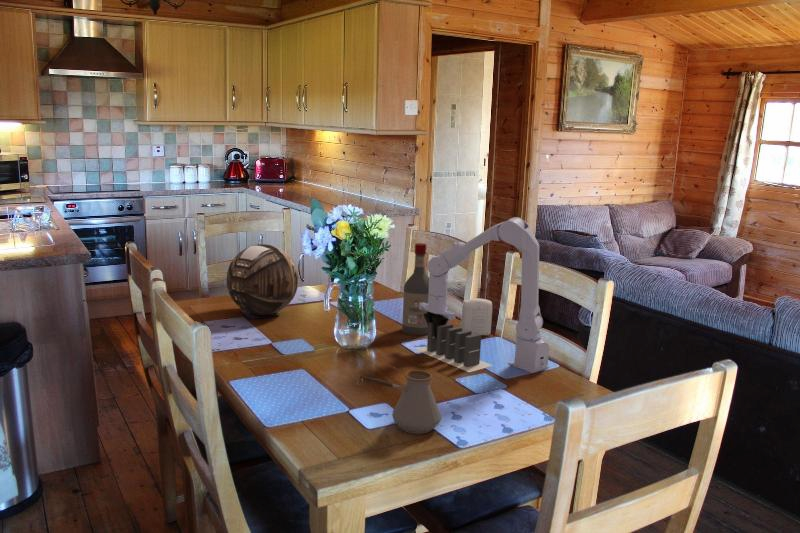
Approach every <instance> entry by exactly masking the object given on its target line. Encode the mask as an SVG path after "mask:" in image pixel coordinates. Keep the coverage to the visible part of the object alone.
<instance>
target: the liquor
mask: <svg viewBox="0 0 800 533" xmlns="http://www.w3.org/2000/svg"><path fill="white" fill-rule="evenodd" d="M414 254H415V257H414V258H415V259H414V270H413V273H412V274H411V275H410V277H409V278H408V279H407V280H406V281H405V282H404V286H403V302H402V304H403V305H402V328H401V330H402V332H403V334H406V335H407V336H408V335H409V336H410V335H415V336H425V335H428V324H427V322H426V319H425V317H424V314H426V313H427V311H426V310H420V309H419V303H423V302H424V303H428V294H429V277H430V276H429V275H428V274H427V273H426V269H425V265H426V264H425V263H426V262H425V261H426V260H425V259H426V254H427V244H426V243H417V242H416V243H415V244H414Z"/></svg>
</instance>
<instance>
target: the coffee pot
mask: <svg viewBox="0 0 800 533" xmlns="http://www.w3.org/2000/svg"><path fill="white" fill-rule="evenodd" d="M404 377H405V379H406V385H405V386H403V385H398V384H394V383H391V382H388V381H386V380H383V379H379V378H374V377H371V376H368V377H367V376H365V375H360V376H358V377H357V378H356V383H357V385H358V386H361V385H363V382H364V381H367V383H373V384H375V385H379V386H383V387H388V388H394V389H397V390H399V391H402V393H401V395H400V397H399V399H398V400H397V402H396V404H395V407H394V409H393V411H392V414H391V415H392V420H393V421H394V423H395V424H396V425H397V426H398V427H399V428H400V429H401V431H404V432H406V433H409V434H417V435H419V434H420V435H421V434H427V433H429V432H431V431H432V430H433V429H434V428H436V427H437V426H438V425H439V424H440V422H441V420H442V414H441V412H440V408H439V406H438V403H437V400H436V398H435V396H434V392H433V391H432V388H431V385H430V383H431V380H432V379H433V374H432V373H431V372H429V371H425V370H420V369H410V370H408V371H406V372H405V373H404ZM359 378H360V379H361V383H360V384H359V382H358V381H359Z"/></svg>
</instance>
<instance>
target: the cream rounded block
mask: <svg viewBox="0 0 800 533" xmlns="http://www.w3.org/2000/svg"><path fill="white" fill-rule="evenodd" d="M492 316H493V302H492V301H491V300H489V299H485V298H478V297H477V298H471V299H470V298H469V299H466V300H463V303H462V308H461V322H460V327H461V328H462V331H465V330H469V331H472V334H471V335H473V334H477V333H478V334H480V335H481V336H490V335H491V330H492V319H493V317H492ZM487 333H488V334H487ZM489 334H490V335H489Z"/></svg>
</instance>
